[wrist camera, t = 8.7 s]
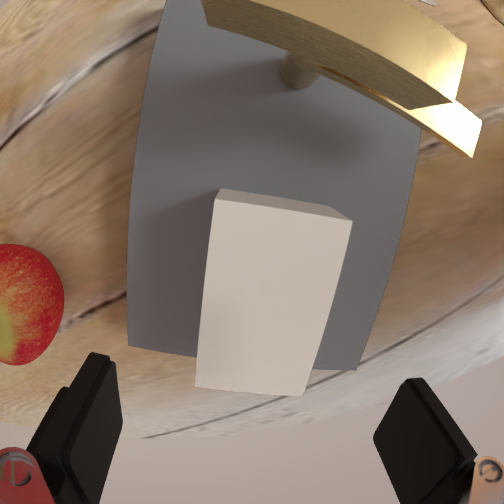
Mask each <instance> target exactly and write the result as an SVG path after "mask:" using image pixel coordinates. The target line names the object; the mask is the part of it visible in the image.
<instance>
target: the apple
mask: <svg viewBox="0 0 504 504" xmlns="http://www.w3.org/2000/svg"><path fill="white" fill-rule="evenodd" d="M63 309H64V291H63V287H62V284H61V281H60V279H59V276H58V274H57V272H56V271H55V269H54V267H53V266H52V264H51V263H50V261H49V260H48V259H47V258H46V257H45V256H44V255H43V254H41V253H40V252H38V251H36V250H34V249H32V248H29V247H26V246H22V245H16V244H0V362H3V363H5V364H9V365H24V364H27V363H29V362H31V361H33V360H35V359H36V358H37V357H39V356H40V355H41V354H42V353H43V352H44V351H45V350H46V349H47V347H48V346H49V344H50V343H51V341H52V340H53V338H54V336H55V334H56V332H57V330H58V328H59V325H60V322H61V318H62V315H63Z"/></svg>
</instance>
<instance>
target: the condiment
mask: <svg viewBox="0 0 504 504" xmlns="http://www.w3.org/2000/svg"><path fill="white" fill-rule="evenodd" d="M420 1H423V2H425V3H427V4H430V5H433V6H436V7H437V5H436V0H420Z"/></svg>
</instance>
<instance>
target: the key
mask: <svg viewBox="0 0 504 504" xmlns="http://www.w3.org/2000/svg"><path fill="white" fill-rule="evenodd" d="M201 2H202V6H203V9H204V13H205V17H206V21H207V24H208V26H211V27H215V28H219V29H222V30H226V31H229V32H233V33H236V34H240V35H243V36H246V37H249V38H252V39H255V40H259V41H261V42H264V43H267V44H270V45H273V46H276V47H279V48H281V49H284V50H287V51H286V53H285V56H284V58H283V60H282V62H281V64H280V67H279V76H280V78H281V80H282V81H283V83H284V84H286V85H287V86H289V87H291V88H293V89H305V88H307V87H309V86H310V85H311V84H313V83H314V82H315V81H316V80H317V79H318V78H319V77H320V76H321V75H322V76H325V77H327V78H329V79H331V80H333V81H336V82H338V83H340V84H342V85H344V86H346V87H348V88H350V89H352V90H354V91H356V92H358V93H360V94H362V95H364V96H366V97H368V98H370V99H372V100H373V101H375V102H377V103H379V104H381V105H383V106H384V107H386V108H388V109H390V110H391V111H393V112H395V113H397V114H398V115H400V116H402V117H403V118H405V119H407V120H408V121H410V122H412V123H413V124H415V125H416V126H418V127H420V128H421V129H423V130H424V131H426V132H427V133H429V134H430V135H432V136H433V137H435V138H436V139H438V140H439V141H441V142H442V143H444V144H445V145H447V146H448V147H449V148H451V149H452V150H454V151H455V152H456V153H458V154H459V155H461V156H462V157H469V158H472V157H473V153H474V150H475V146H476V143H477V139H478V136H479V132H480V128H481V125H482V121H480V120H479V119H478V118H477V117H476V116H474V115H473V114H472V113H471V112H470V111H468V110H467V109H466V108H465V107H463V106H462V105H461V104H459V103H458V102H457V101H455V97H456V93H457V89H458V85H459V81H460V77H461V72H462V68H463V63H464V58H465V53H466V48H467V45H466V44H465V43H463V42H462V41H461V40H460V39H458V38H457V37H456V36H454V35H453V34H452V33H450V32H449V31H448V30H446V29H445V28H444V27H442V26H441V25H440V24H438V23H437V22H435V21H434V20H432V19H431V18H429V17H428V16H426V15H425V14H423V13H422V12H420V11H419V10H417V9H416V8H414V7H413V6H411V5H409V4H408V3H406V2H404V1H403V0H201Z"/></svg>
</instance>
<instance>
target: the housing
mask: <svg viewBox="0 0 504 504" xmlns="http://www.w3.org/2000/svg"><path fill="white" fill-rule="evenodd" d="M286 51H287V50H284V49H281V48H279V47H276V46H273V45H270V44H267V43H264V42H261V41H259V40H255V39H252V38H249V37H246V36H243V35H240V34H236V33H233V32H229V31H226V30H222V29H219V28H215V27H211V26H208V24H207V21H206V17H205V13H204V9H203V6H202V2H201V0H166V3H165V6H164V10H163V13H162V17H161V21H160V24H159V28H158V32H157V36H156V40H155V44H154V48H153V53H152V57H151V62H150V66H149V71H148V76H147V81H146V86H145V91H144V97H143V103H142V108H141V115H140V121H139V127H138V134H137V142H136V149H135V157H134V166H133V175H132V186H131V197H130V210H129V226H128V247H127V330H128V345H129V346H134V347H139V348H144V349H149V350H154V351H160V352H166V353H171V354H178V355H184V356H190V357H197V351H198V340H199V329H200V319H201V309H202V299H203V290H204V281H205V272H206V264H207V255H208V247H209V239H210V231H211V223H212V216H213V208H214V201H215V198H216V196H217V194H218V192H219V191H220V189H221V188H222V189H229V190H236V191H243V192H250V193H256V194H262V195H269V196H275V197H281V198H287V199H293V200H299V201H304V202H310V203H316V204H321V205H327V206H330V207H331V208H333V209H335V210H336V211H338V212H339V213H341V214H342V215H344V216H345V217H347V218H348V219H350V220H352V221H353V223H352V227H351V232H350V236H349V240H348V244H347V249H346V253H345V257H344V261H343V265H342V269H341V272H340V276H339V280H338V284H337V287H336V291H335V295H334V298H333V302H332V306H331V309H330V312H329V316H328V319H327V323H326V326H325V329H324V333H323V336H322V339H321V342H320V346H319V349H318V352H317V355H316V358H315V361H314V364H313V367H312V369H325V370H356V369H357V366H358V364H359V361H360V359H361V356H362V354H363V351H364V349H365V346H366V343H367V341H368V338H369V335H370V333H371V330H372V327H373V324H374V321H375V319H376V316H377V313H378V310H379V307H380V304H381V301H382V298H383V295H384V291H385V288H386V285H387V282H388V279H389V275H390V272H391V268H392V265H393V261H394V258H395V254H396V251H397V247H398V243H399V239H400V235H401V232H402V227H403V223H404V219H405V215H406V211H407V206H408V202H409V197H410V192H411V187H412V182H413V177H414V172H415V166H416V160H417V154H418V148H419V142H420V135H421V128H420V127H418V126H416V125H415V124H413V123H412V122H410V121H408V120H407V119H405V118H403V117H402V116H400V115H398V114H397V113H395V112H393V111H391V110H390V109H388V108H386V107H384V106H383V105H381V104H379V103H377V102H375V101H373V100H372V99H370V98H368V97H366V96H364V95H362V94H360V93H358V92H356V91H354V90H352V89H350V88H348V87H346V86H344V85H342V84H340V83H338V82H336V81H333V80H331V79H329V78H327V77H325V76H322V75H321V76H320V77H319V78H318V79H317V80H316V81H315V82H314V83H313V84H311V85H310V86H309V87H307V88H305V89H293V88H291V87H289V86H287V85H286V84H284V83H283V81H282V80H281V78H280V76H279V67H280V64H281V62H282V60H283V58H284V56H285V53H286Z"/></svg>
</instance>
